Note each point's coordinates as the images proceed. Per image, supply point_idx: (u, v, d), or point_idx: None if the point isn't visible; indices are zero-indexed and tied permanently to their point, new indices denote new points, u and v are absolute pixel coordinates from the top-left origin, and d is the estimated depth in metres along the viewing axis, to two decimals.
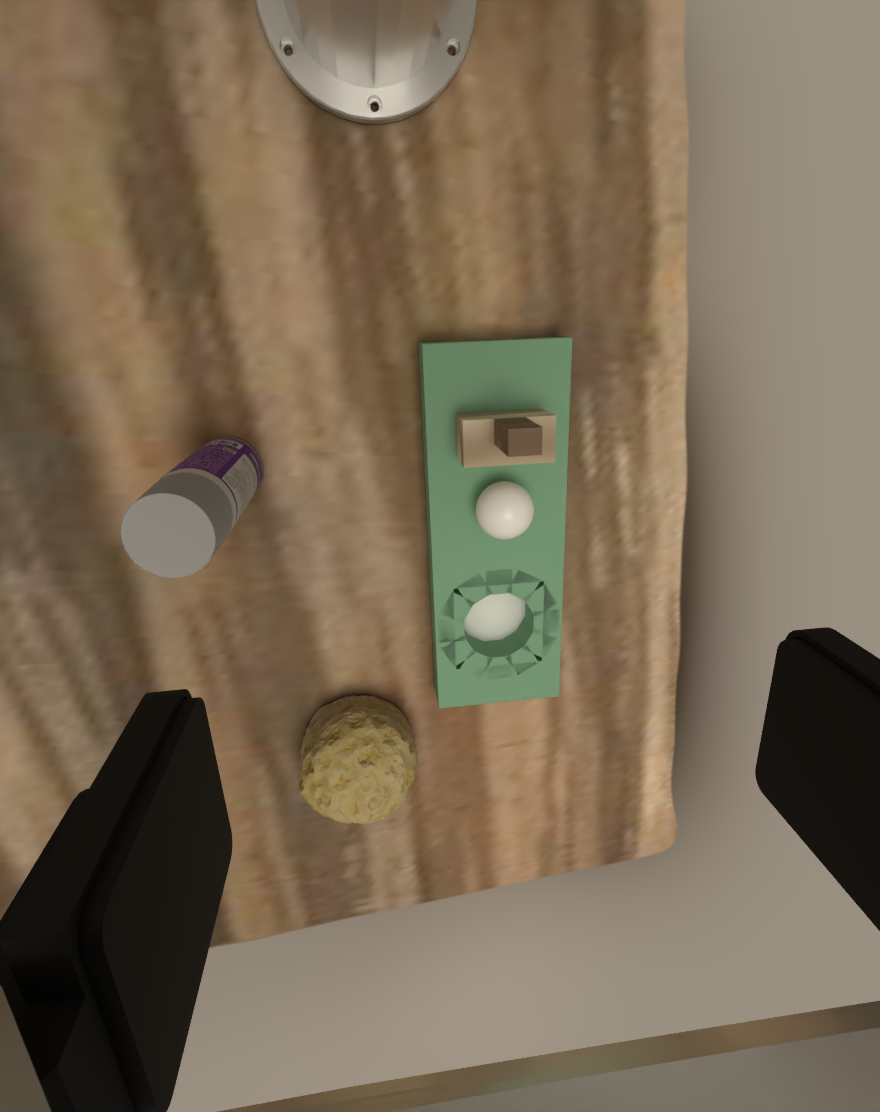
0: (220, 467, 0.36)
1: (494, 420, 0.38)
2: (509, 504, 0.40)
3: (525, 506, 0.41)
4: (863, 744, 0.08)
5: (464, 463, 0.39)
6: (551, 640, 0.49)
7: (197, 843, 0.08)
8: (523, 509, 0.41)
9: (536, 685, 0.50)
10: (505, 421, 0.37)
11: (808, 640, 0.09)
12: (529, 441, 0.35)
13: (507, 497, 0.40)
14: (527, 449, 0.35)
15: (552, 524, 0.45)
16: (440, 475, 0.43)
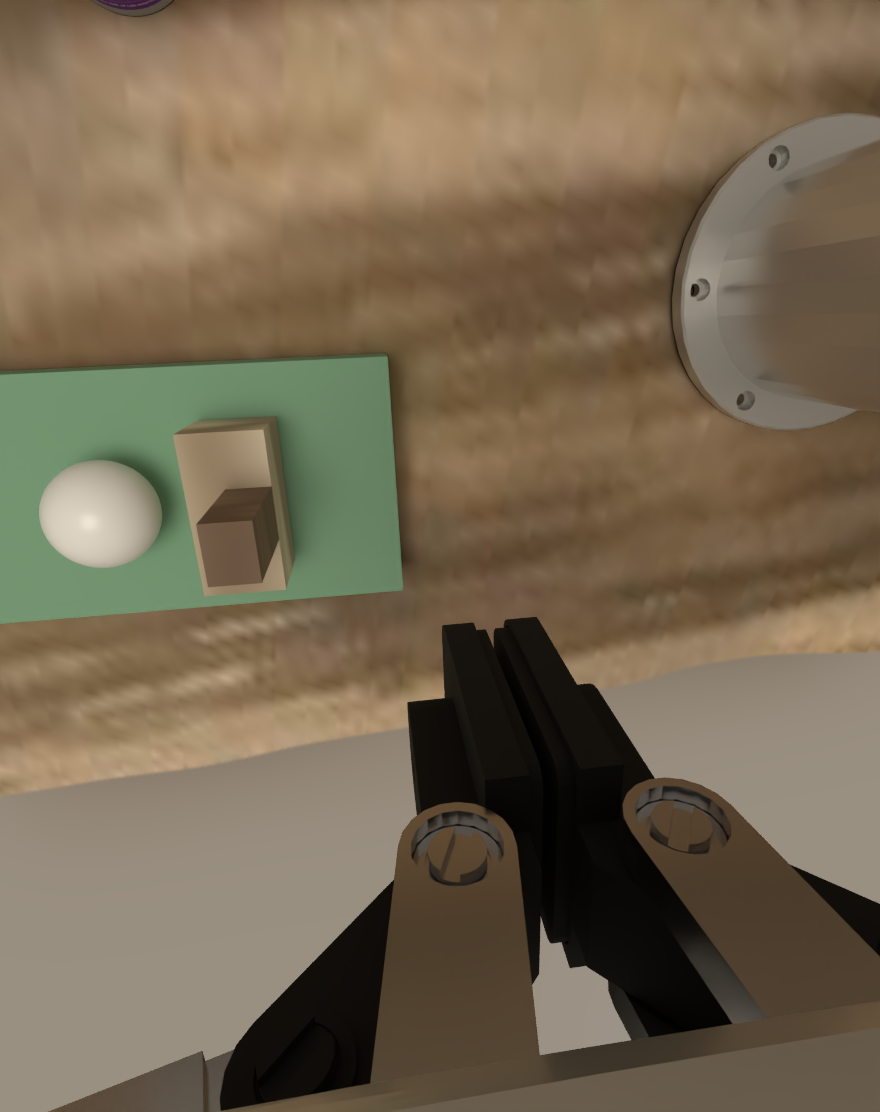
0: None
1: (268, 487, 0.21)
2: (110, 525, 0.21)
3: (111, 554, 0.22)
4: None
5: (181, 435, 0.21)
6: None
7: None
8: (104, 551, 0.22)
9: None
10: (268, 508, 0.21)
11: (509, 628, 0.10)
12: (231, 561, 0.18)
13: (125, 520, 0.21)
14: (215, 559, 0.18)
15: (95, 594, 0.26)
16: (159, 389, 0.23)
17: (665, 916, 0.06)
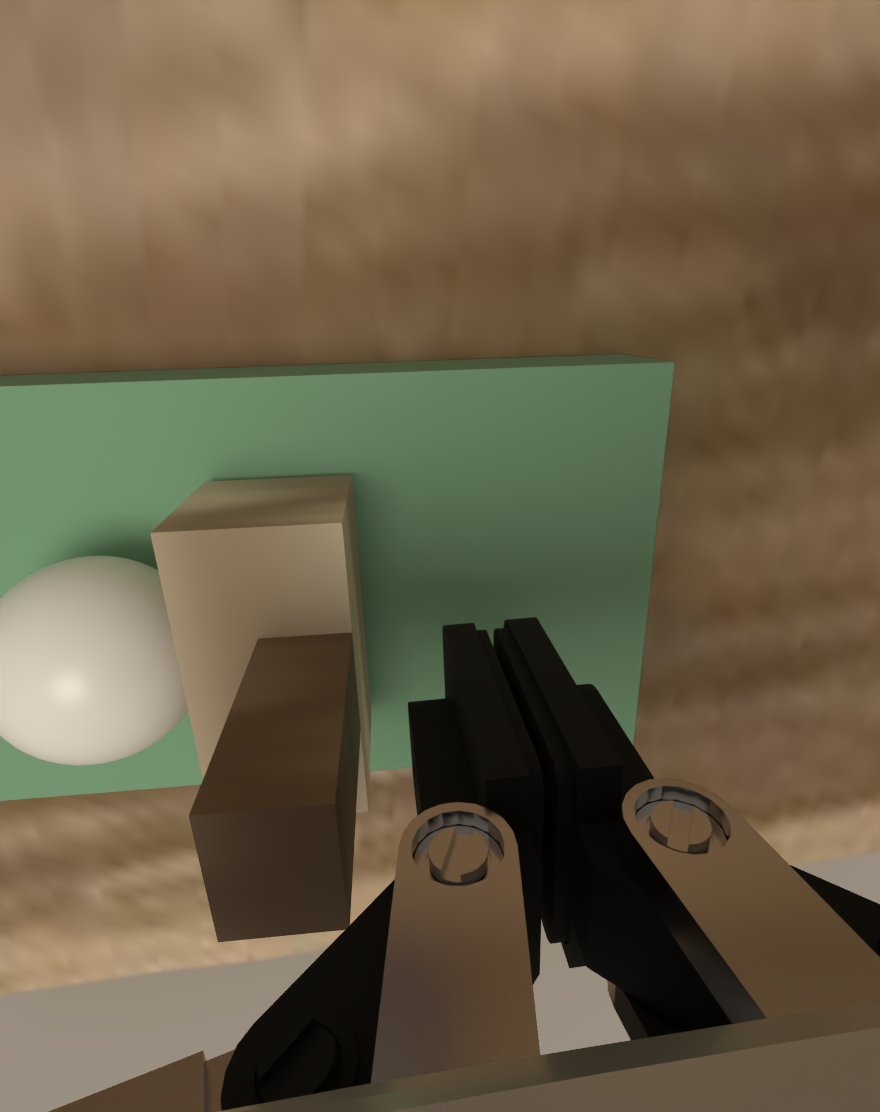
0: None
1: (346, 636, 0.10)
2: (48, 716, 0.10)
3: (63, 759, 0.11)
4: None
5: (169, 534, 0.10)
6: None
7: None
8: (47, 754, 0.11)
9: None
10: (350, 695, 0.10)
11: (509, 628, 0.10)
12: (278, 890, 0.07)
13: (80, 707, 0.10)
14: (238, 887, 0.07)
15: (128, 759, 0.15)
16: (255, 419, 0.13)
17: (665, 916, 0.06)
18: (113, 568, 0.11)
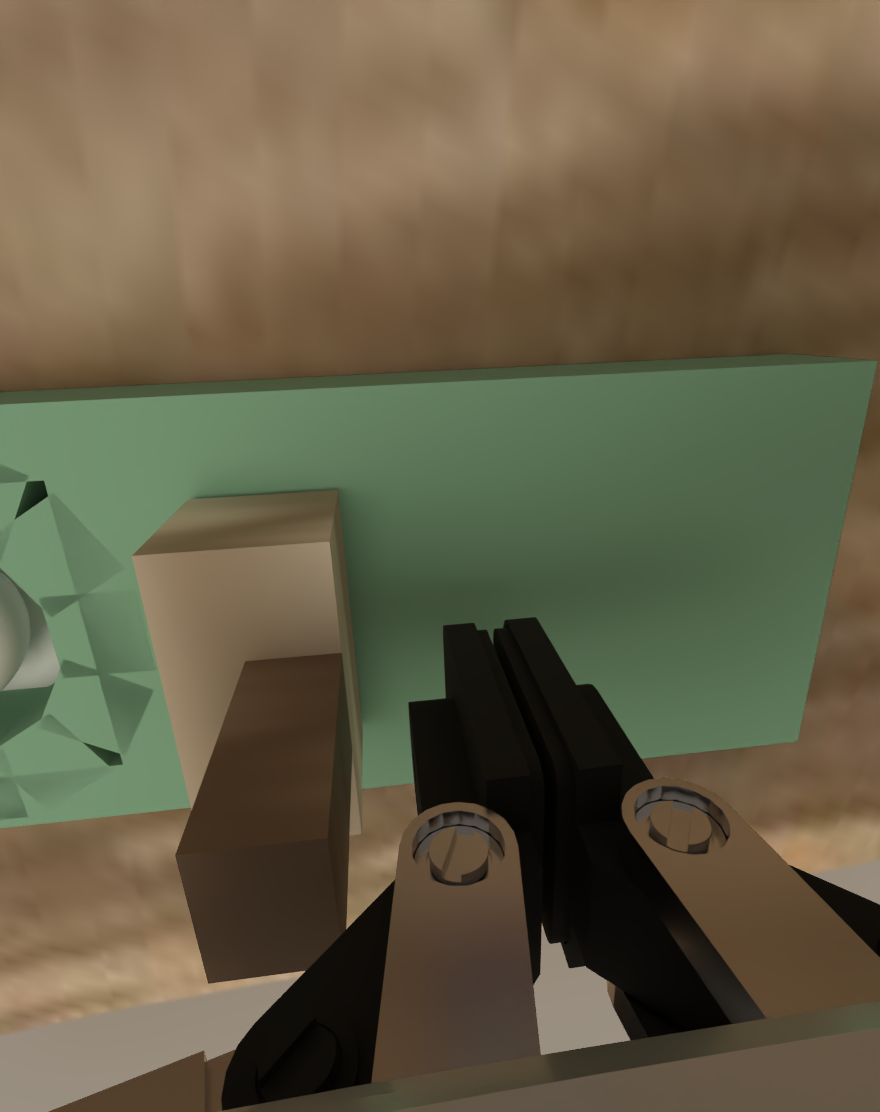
0: None
1: (336, 657, 0.10)
2: None
3: None
4: None
5: (152, 556, 0.09)
6: None
7: None
8: None
9: None
10: (341, 718, 0.09)
11: (509, 628, 0.10)
12: (270, 928, 0.07)
13: (13, 624, 0.14)
14: (228, 926, 0.07)
15: None
16: (478, 421, 0.13)
17: (664, 916, 0.06)
18: None
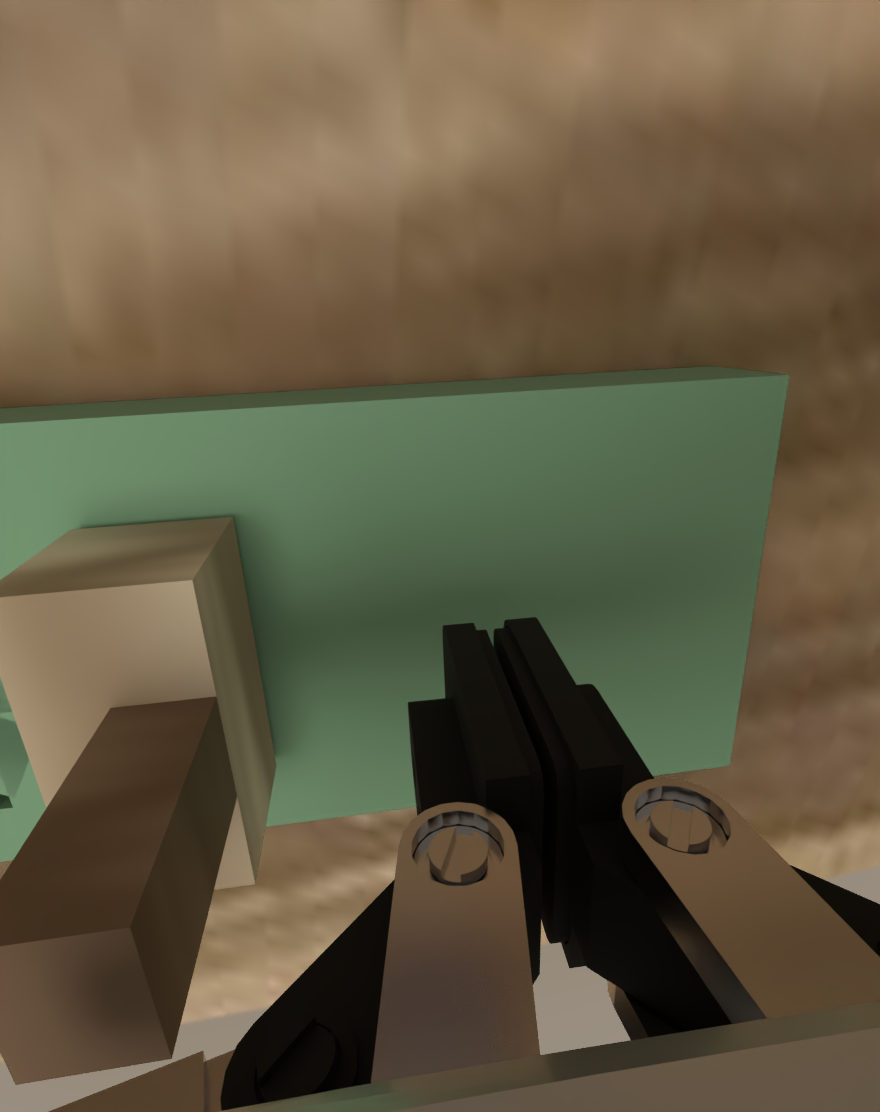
0: None
1: (209, 701, 0.10)
2: None
3: None
4: None
5: None
6: None
7: None
8: None
9: None
10: (203, 771, 0.09)
11: (509, 628, 0.10)
12: (79, 1024, 0.06)
13: None
14: (29, 1024, 0.06)
15: None
16: (370, 443, 0.12)
17: (665, 916, 0.06)
18: None
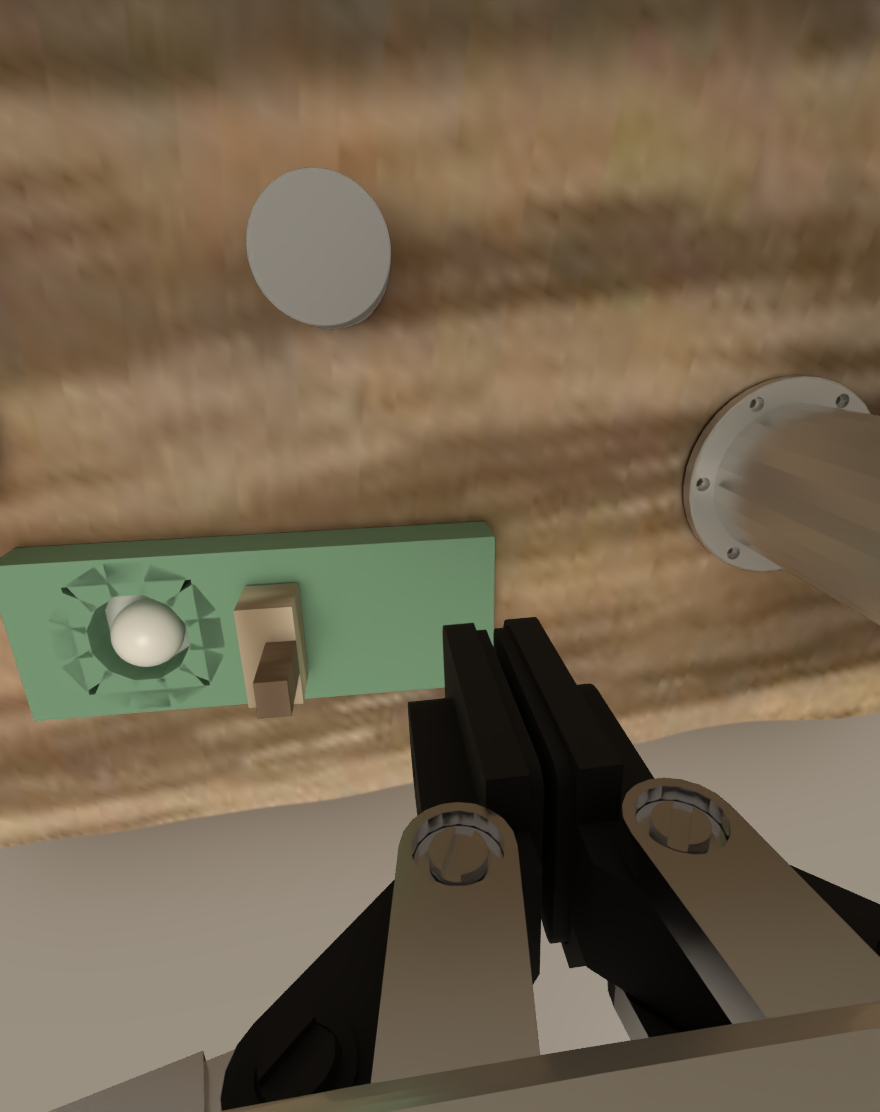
0: None
1: (294, 641, 0.33)
2: (183, 628, 0.37)
3: (180, 646, 0.37)
4: None
5: (239, 610, 0.32)
6: (123, 702, 0.37)
7: None
8: (180, 645, 0.37)
9: (48, 692, 0.36)
10: (294, 659, 0.32)
11: (509, 628, 0.10)
12: (273, 704, 0.30)
13: (183, 623, 0.37)
14: (263, 702, 0.29)
15: None
16: (345, 558, 0.35)
17: (664, 916, 0.06)
18: (146, 599, 0.36)
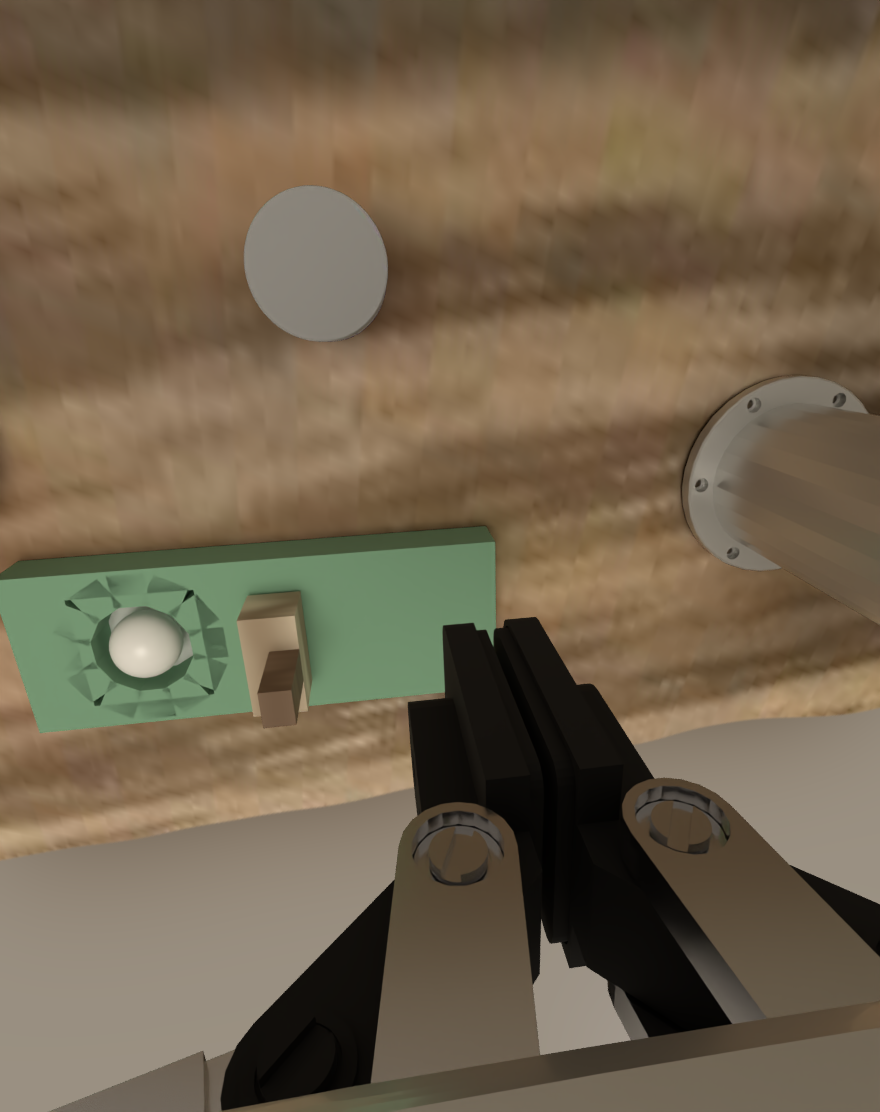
0: None
1: (297, 650, 0.33)
2: (180, 641, 0.36)
3: (177, 659, 0.37)
4: None
5: (242, 620, 0.32)
6: (128, 713, 0.37)
7: None
8: (176, 658, 0.36)
9: (54, 704, 0.36)
10: (297, 668, 0.32)
11: (509, 628, 0.10)
12: (278, 713, 0.30)
13: (181, 636, 0.37)
14: (268, 712, 0.30)
15: None
16: (346, 566, 0.35)
17: (665, 916, 0.06)
18: (145, 610, 0.36)
